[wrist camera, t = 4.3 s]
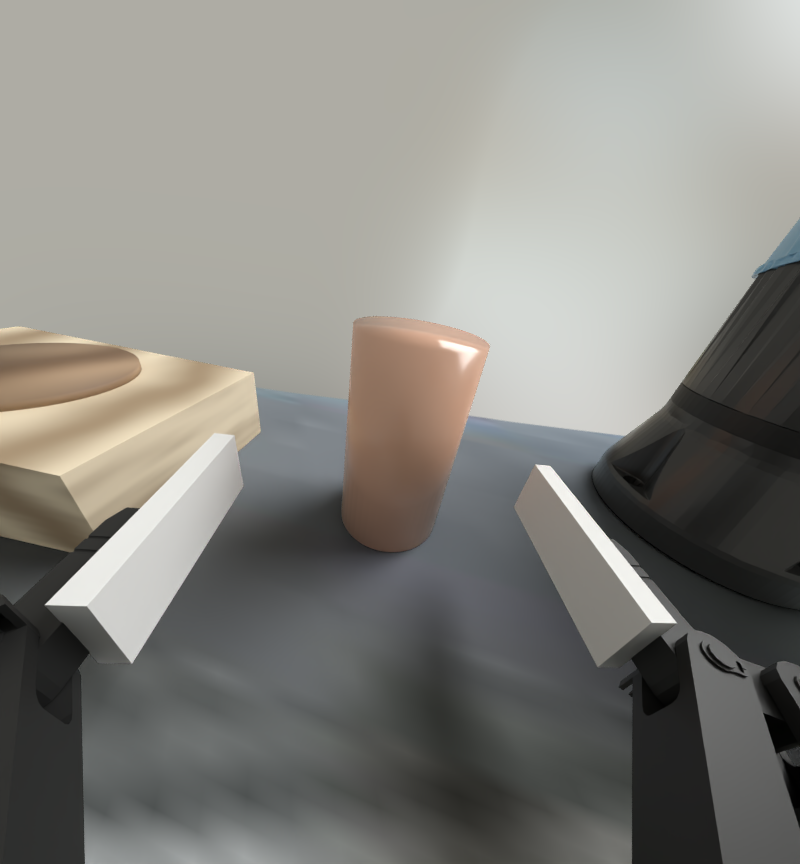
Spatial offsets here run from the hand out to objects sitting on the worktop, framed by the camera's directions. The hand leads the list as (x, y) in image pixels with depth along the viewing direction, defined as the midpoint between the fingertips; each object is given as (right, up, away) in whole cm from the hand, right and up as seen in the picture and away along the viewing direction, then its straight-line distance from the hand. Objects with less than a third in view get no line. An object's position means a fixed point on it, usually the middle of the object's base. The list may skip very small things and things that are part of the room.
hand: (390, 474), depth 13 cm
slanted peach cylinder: (0, -4, +7) cm, 8 cm away
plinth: (-23, +1, +7) cm, 24 cm away
